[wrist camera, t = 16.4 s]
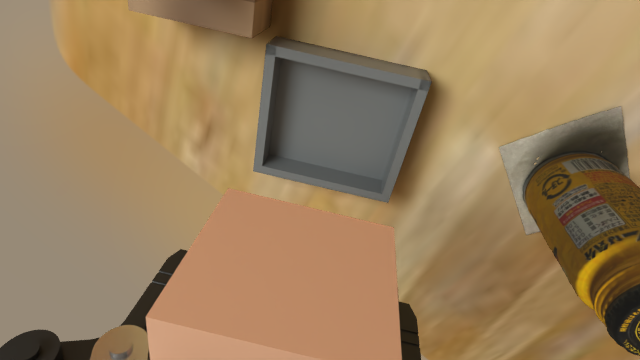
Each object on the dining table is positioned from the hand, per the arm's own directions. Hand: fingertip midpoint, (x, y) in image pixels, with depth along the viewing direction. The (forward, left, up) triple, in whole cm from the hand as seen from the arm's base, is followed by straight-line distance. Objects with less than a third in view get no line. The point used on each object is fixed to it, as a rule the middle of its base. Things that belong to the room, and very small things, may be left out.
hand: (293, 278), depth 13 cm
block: (0, 0, -1) cm, 1 cm away
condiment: (-17, +1, -16) cm, 23 cm away
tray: (0, 0, -16) cm, 16 cm away
